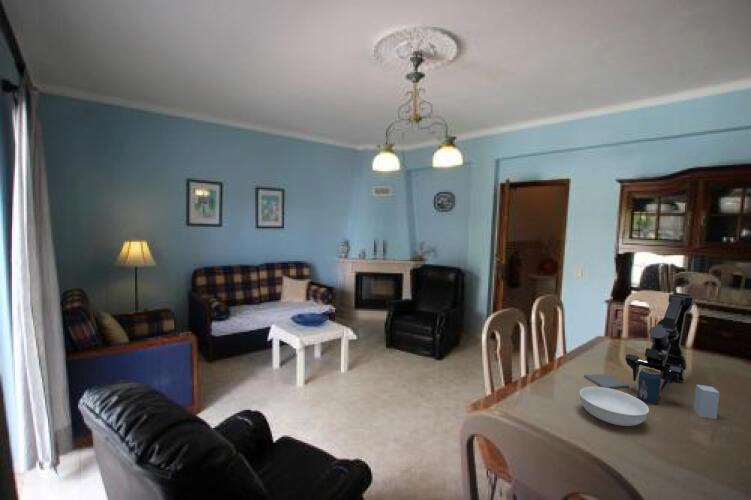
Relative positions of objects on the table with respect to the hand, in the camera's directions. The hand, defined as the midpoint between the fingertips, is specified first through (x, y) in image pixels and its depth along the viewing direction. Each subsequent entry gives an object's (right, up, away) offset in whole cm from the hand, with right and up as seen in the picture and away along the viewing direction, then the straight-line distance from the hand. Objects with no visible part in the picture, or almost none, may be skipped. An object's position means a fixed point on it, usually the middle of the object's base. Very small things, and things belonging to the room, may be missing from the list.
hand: (647, 385), depth 147 cm
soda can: (+1, -7, +1) cm, 7 cm away
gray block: (+15, -8, -8) cm, 19 cm away
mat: (-6, -5, +17) cm, 19 cm away
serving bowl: (-22, -7, -12) cm, 26 cm away
